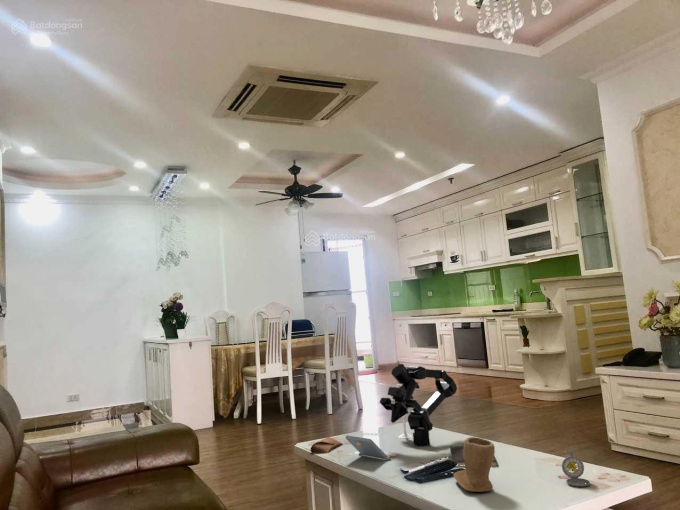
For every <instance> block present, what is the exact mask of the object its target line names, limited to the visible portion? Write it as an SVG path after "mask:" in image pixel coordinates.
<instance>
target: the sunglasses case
mask: <svg viewBox="0 0 680 510" xmlns="http://www.w3.org/2000/svg"><path fill="white" fill-rule="evenodd" d="M342 444H343V445H344V443H342V442H341V441H338V440H336V439H334V438H332V437H330V436H327V437H326V438H323V439H321V440H319V441H317V442H314V443H313V444H312V445H311V447H310V453H311V454H329V453H331V452H332V451H333V449H334V450H335V449H336V448H340V445H341V446H343V445H342ZM331 450H332V451H331Z"/></svg>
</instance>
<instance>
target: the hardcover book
mask: <svg viewBox="0 0 680 510" xmlns="http://www.w3.org/2000/svg"><path fill="white" fill-rule="evenodd" d="M463 448H464V445H463V446H462V445H461V446H456V445H455V446H450V447H449V449H450V456H451V462H452V461H454V462H457V464H458V466H457V467H461V466H460V465H465V461H464V457H463ZM496 458H497V457H495V455H494V459H493V462H492V465H491V467H493V466H494V467H498V465H499V464H498V463H499V462H498V460H497V459H496Z"/></svg>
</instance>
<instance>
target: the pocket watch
mask: <svg viewBox="0 0 680 510" xmlns="http://www.w3.org/2000/svg"><path fill="white" fill-rule="evenodd" d="M569 450H570V451H569ZM566 452H567V453H568V454H569V456H566V457H565V458H564V459H563V461H562V462H561V470H562V472H563V474H564V475H565V476H566V477H568V478H567V479H566V484H568V485H570V486H572V487H579V488H582V487H588V486H590V484H591V482H590V480H588V479H585V478H580V477H581V476H582V475H583V473H584V471H585V465H584V463H583V461H582V460H581V459H580V458H579V457H578V456H574V454H575V453H576V449H575V448H572V447H571V448H570V447H569V448H567V449H566ZM585 483H586V484H585Z"/></svg>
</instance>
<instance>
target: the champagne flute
mask: <svg viewBox="0 0 680 510" xmlns="http://www.w3.org/2000/svg"><path fill="white" fill-rule="evenodd" d="M400 386H402V384H399V383H397V384H396V388H399V387H400ZM411 409H412V408H410V409H409V410H408V412H409V413H410V412H411V411H410V410H411ZM406 416H407V414H405V415H404V416H402V425H403V433H402V434H400V435H399V436H398V438H399V439H411V438H412V439H413V435H411V434H409V433H408V432H407V421H406Z"/></svg>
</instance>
